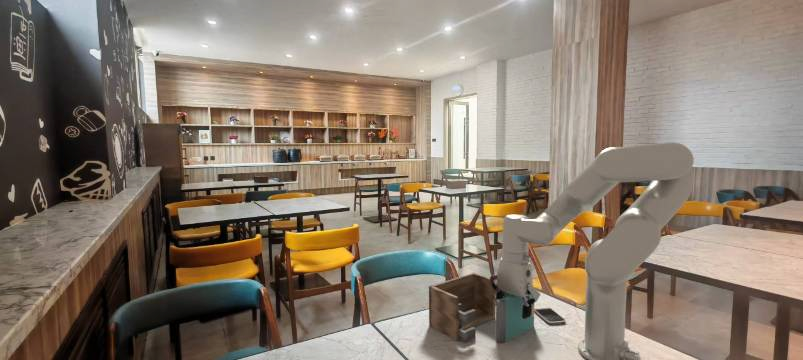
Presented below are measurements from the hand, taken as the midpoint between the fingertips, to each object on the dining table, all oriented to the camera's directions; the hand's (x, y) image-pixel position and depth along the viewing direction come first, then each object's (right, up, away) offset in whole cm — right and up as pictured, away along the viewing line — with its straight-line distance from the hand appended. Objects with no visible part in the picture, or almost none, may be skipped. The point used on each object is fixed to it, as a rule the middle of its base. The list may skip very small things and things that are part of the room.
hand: (512, 311), depth 117 cm
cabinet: (-12, -6, +7) cm, 15 cm away
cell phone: (+15, -6, +12) cm, 20 cm away
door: (+1, -7, 0) cm, 7 cm away
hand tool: (+7, -5, +25) cm, 26 cm away
